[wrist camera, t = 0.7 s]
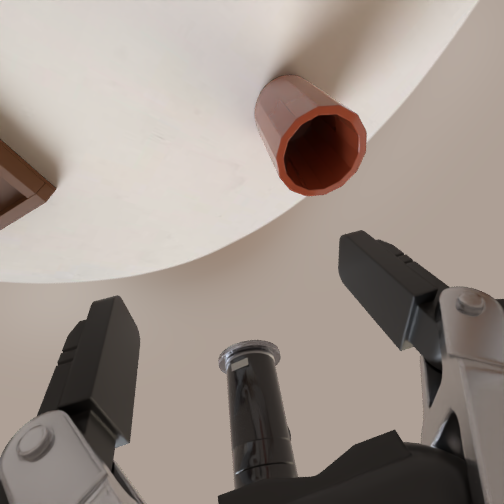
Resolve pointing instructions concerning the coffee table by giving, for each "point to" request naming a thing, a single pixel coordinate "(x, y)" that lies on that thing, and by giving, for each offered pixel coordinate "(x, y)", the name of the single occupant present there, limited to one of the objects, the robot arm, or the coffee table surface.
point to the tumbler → (309, 135)
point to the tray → (19, 187)
